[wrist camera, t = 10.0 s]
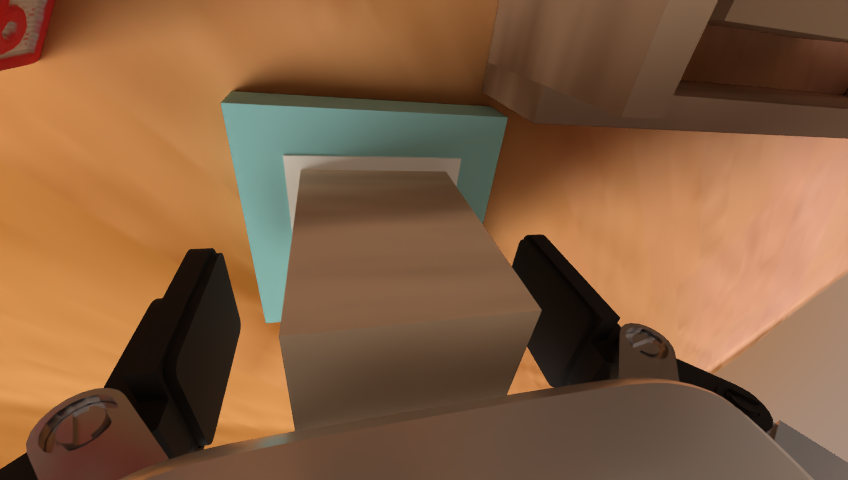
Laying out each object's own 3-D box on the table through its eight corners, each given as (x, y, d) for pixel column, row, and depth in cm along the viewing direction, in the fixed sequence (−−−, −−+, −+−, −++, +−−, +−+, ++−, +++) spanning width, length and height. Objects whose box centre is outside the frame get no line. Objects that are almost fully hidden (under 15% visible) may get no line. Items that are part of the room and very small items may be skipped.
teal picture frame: (231, 91, 11) (219, 103, 10) (491, 106, 13) (509, 118, 12) (270, 298, 16) (265, 324, 15) (454, 284, 18) (464, 306, 17)
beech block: (300, 169, 11) (278, 336, 6) (445, 171, 13) (541, 310, 7) (310, 285, 14) (302, 473, 9) (429, 277, 15) (489, 437, 10)
